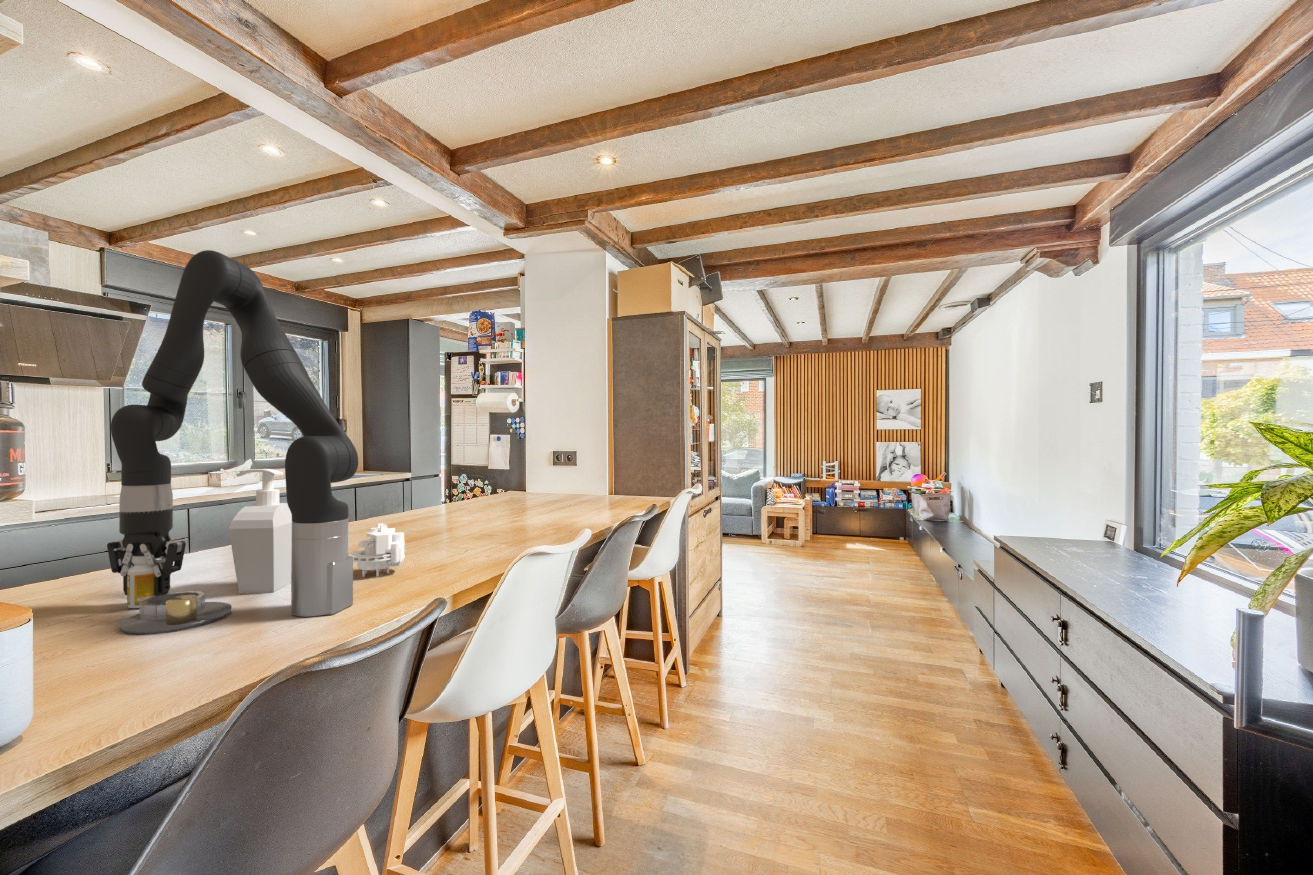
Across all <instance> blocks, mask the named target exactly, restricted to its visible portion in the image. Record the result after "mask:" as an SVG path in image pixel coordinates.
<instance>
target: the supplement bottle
mask: <svg viewBox="0 0 1313 875" xmlns="http://www.w3.org/2000/svg"><path fill="white" fill-rule="evenodd" d="M160 559H162V558H161V557H160V558H157V559H156V560H160ZM132 562H133V564H134V566H133V565H132V566H133V567H132V566H131V568H130V569H129V570H128V572H127V595H126V596H127V597H126V598H127V599H126V600H127V601H126V605H127V607H128V608H129V609H140V603H141V602H142V601H143V600H145V599H148V598H151V597H155V595H154V577H156V576H155V574H154V571H153V569H152V567H150V566H148V563H147V561H146V558H145V556H133V557H132ZM160 566H161V569H163V567H162V565H161V564H160Z"/></svg>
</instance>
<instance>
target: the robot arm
mask: <svg viewBox="0 0 1313 875" xmlns="http://www.w3.org/2000/svg"><path fill="white" fill-rule="evenodd" d="M213 303H216V304H220V305H221V306H224V307H225V308H226V309H227V310H228V311H229V313H230V314H231V316H232V317H233V318H234V320H235V322H236V324H237V325H238V327H239V329H240V332H241V335H242V338H241V344H240V361H241V364H242V367H243V369H244V371H245V372H246V375H247V377H248V378H249V380H250V382H251V383H252V385H253V388H255V390H256V392H257V393H258V394H259V395H260V396H261V397H262V398H263V399H264V400H265V401H266V402H267V403H268V404H270V406H272V407H273V408H274V409H276V411H278V412H279V413H281V414H282V415H283V416H285V417H286V418H287V419H288V420H290V421H291V422H292V423H293V424H294V425H295V426H296V427H297V429H298V430H299V432H301V434H302V435H303V436H301V437H298V438H296V439H294V440H293V441H292V442H291V443H290V444H289V447H288V448H287V451H286V455H285V460H284V475H285V489H286V490H285V492H286V503H287V504H288V507H289V509H290V511H291V514H292V553H291V583H290V584H291V585H290V593H291V594H290V595H291V596H290V597H291V599H290V600H291V604H290V613H291V614H292V615H293V616H296V617H305V618H306V617H318V616H323V615H334V614H336V613H338V612H341V611H342V610H345V609H346V608H348V607H350V606H352V605H353V604H354V562H353V557H352V556H349V512H350V511H349V510H350V509H349V506H348V503H346V502H344V501H341V500H338V499H337V498H336V497H334V495H333V492H332V484H334V483H340V482H345V481H347V480H350V479H351V478H352V477H354V476H355V474H356V473H357V471H358V469H359V457H358V456H359V454H358V452H357V450H356V446H355V445H354V443H353V442H352V440H351V439H350V438H349V436H348V434H347V433H346V432H345V430H344V429H343V428H342V426H341V425H340V423H338V421H337V420H336V418H335V417H334V415H333V414H332V413H331V411H330V410H329V408H328V407H327V404H326V403H325V401H324V399H323V398H322V396H321V394H320V393H319V391H318V388H317V387H316V386H315V384H314V383H313V381H312V379H311V377H310V376H309V373H308V371H307V369H306V367H305V366H304V364H303V362H302V361H301V358H300V356H299V355H298V353H297V351H296V350H295V349H294V346H293V345H292V343H291V341H290V340H289V337H288V336H287V334H286V332H285V331H284V328H283V327H282V325H281V324H280V322H279V320H278V319H277V316H276V314H275V313H274V310H273V308H272V305H271V303H270V300H269V297H268V295H267V293H266V290H265V288H264V286H263V283H262V282H261V279H260V278H259V276H258V275H257V274H256V272H255V271H253V269H251V268H250V267H249V266H247V265H245V264H243V263H241V262H239V261H237V260H235V259H233V258H231V257H230V256H228V255H225V254H223V253H221V252H220V251H216V250H210V249H205V250H202V251H198V252H197V253H195V254H194V255H192V257H191V258H189V260H188V262H187V263H186V265H185V268H184V270H183V272H182V275H181V278H180V281H179V285H178V288H177V291H176V295H175V299H174V302H173V305H172V309H171V312H170V313H171V314H170V315H169V316H170V317H169V320H168V323H167V326H166V330H165V334H164V336H163V339H162V341H161V344H160V345H159V347H158V349H157V352H156V353H155V355H154V357H153V360H152V361H151V363H150V365H149V367H148V369H147V371H146V373H145V374H144V377H143V378H142V383H141V385H142V388H143V389H144V390H145V391H146V392H148V393H149V394H150V395H149V398H148V402H147V405H145V404H128V405H125V406H122V407H120V408H119V409H117V410H116V412H115V413H114V414H113V416H112V419H111V420H110V421H111V422H110V434H111V438H112V441H113V443H114V447H115V451H116V453H117V456H118V458H119V461H120V464H121V468H120V469H121V471H120V472H121V474H120V475H121V479H120V480H121V482H120V483H121V488H120V492H119V506H118V507H119V514H118V515H119V516H118V518H119V522H118V523H119V526H118V529H119V531H118V532H119V533H120V534H121V535H124V536H123V538H122V540H116V541H115V540H114V541H111V542H108V543H107V545H106V547H107V554H108V558H109V559H108V560H109V562H110V563H109V564H110V570H111V572H112V573H113V574H116V573H118V574H120V576H121V577H122V578H123V580H122V584H123V585H122V586H123V587H122V590H123V593H124V595H125V596H127V572H128V570H129V569H130V568H131V567H133V566H134V564H133V562H132V557H133V556H145V558H146V561H147V563H148V566H150V567H152V569H153V571H154V574H155V576H156V577H154V595H155V596H158V595H164V594H169V592H170V590H171V575H172V574H173V573H175V572H178V571H180V570H182V567H183V561H184V555H185V550H186V544H187V543H186V541H185V540H180V541H176V540H172V539H171V537H170V531H171V530H173V527H174V526H173V525H174V523H173V522H174V521H173V520H174V518H173V517H174V516H173V515H174V506H173V504H174V493H173V488H172V461H171V459H170V458H169V456H168V455H165V454H162V453H160V452H159V449H158V446H157V443H156V442H163V441H166V440H169V439H171V438H172V437H174V436H175V435H176V434H177V433H178V431H179V430H181V426H182V425H183V423H184V419H185V415H186V409H187V405H188V404H187V403H188V396H189V393H190V391H191V390H192V388H193V386H194V384H195V383H196V380H197V378H198V376H199V375H200V373H201V371H202V368H203V365H204V361H205V360H204V359H205V344H204V343H205V342H204V325H205V319H206V317H207V313H208V311H209V310H210V308H211V306H212V305H213ZM160 557H161V559H160V560H156V559H157V558H160ZM119 560H120V563H121V564H119ZM160 564H161V565H162V567H163V569H161V566H160Z"/></svg>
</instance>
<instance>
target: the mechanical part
mask: <svg viewBox="0 0 1313 875" xmlns="http://www.w3.org/2000/svg"><path fill="white" fill-rule="evenodd" d="M366 537H368V538H370V539H366V540H365V539H364V540H363V539H362V540H361V541H359V542H358V547H363V548H362V549H357V550H354V551H352V552H348V556H352V557H353V563H357V565H356V566H357V569H358V570H360V571H361V570H362V572H361V574H362V577H365V576H366V574H367V573H368V571H376V573H375V574H376V575H375V577H376V578H378V577H379V576H380V572H382V569H385V570H386V574H390V568H392V567H400V566H401V565H402V564H403V562H404V561H405V558H406V541H405V533H404V532H400V531H399V532H396V528H395V527H388V524H385V523H384V522H381V523H380V522H379V523H376V527H371V528H369V530H368V531H367V532H366Z"/></svg>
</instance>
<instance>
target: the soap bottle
mask: <svg viewBox="0 0 1313 875" xmlns="http://www.w3.org/2000/svg"><path fill="white" fill-rule="evenodd" d="M251 473H262V474H261V475H262V476H261V478H262V479H261V481H262V482H261V484H262V488H261V489H257V490H255V498H256V499H255V501H256V502H255V503H253V504H249V505H245V506H244V507H242V508H241V509H240V510H239V511H238V512H237V514H236V515H235V516H234V517H233V518H232V520H231V522H230V525H229V527H228V533H229V540H230V545H231V551H232V557H233V558H232V559H233V564H234V565H233V566H234V570H235V576H236V582H237V590H238V594H265V593H266V594H267V593H269V594H272V593H276V592H277V591H279V590H282V589H283V588H284V587H286V586H289V585H290V584H291V553H292V514H291V511H290V509H289V507H288V504H287V502H280V489H278V488H277V489H275V487H274V486H275V484H274V483H275V482H274V478H275V477H278V476H283V475H284V472H283V471H280V470H279V469H278V470H277V469H272V468H257V469H256V468H254V469H247V470H243V471H240V472H239V473H237V474H235V475H236V477H238V478H239V477H243V476H245V475H247V474H251Z"/></svg>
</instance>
